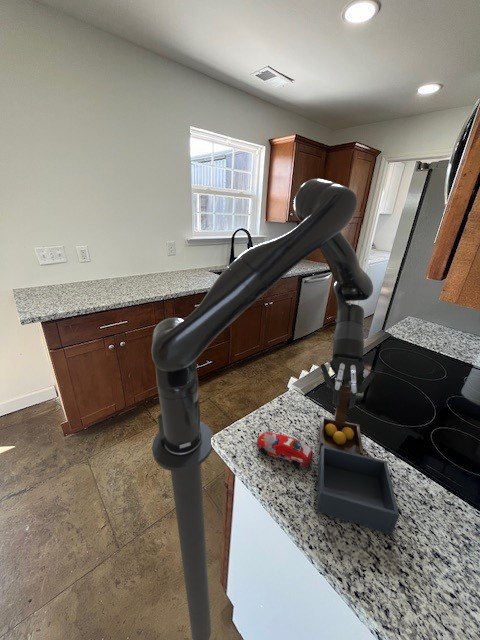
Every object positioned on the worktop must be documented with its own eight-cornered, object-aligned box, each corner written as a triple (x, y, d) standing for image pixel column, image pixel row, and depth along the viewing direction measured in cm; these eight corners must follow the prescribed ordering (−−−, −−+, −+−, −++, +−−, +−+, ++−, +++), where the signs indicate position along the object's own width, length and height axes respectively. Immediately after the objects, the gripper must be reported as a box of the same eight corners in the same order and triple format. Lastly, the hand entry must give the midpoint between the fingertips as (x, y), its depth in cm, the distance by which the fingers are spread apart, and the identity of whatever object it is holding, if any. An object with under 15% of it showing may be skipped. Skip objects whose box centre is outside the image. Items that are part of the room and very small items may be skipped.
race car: (253, 450, 64) (253, 438, 62) (261, 435, 68) (262, 423, 67) (307, 473, 59) (309, 460, 57) (313, 454, 63) (315, 442, 62)
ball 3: (340, 441, 66) (342, 431, 65) (340, 432, 69) (341, 423, 68) (353, 444, 65) (355, 434, 64) (352, 435, 68) (354, 426, 67)
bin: (316, 511, 51) (320, 492, 49) (318, 462, 61) (321, 445, 59) (391, 534, 48) (399, 515, 46) (380, 479, 58) (386, 461, 56)
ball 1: (324, 437, 67) (325, 427, 66) (324, 429, 70) (325, 420, 69) (336, 440, 66) (338, 430, 65) (336, 431, 69) (337, 422, 68)
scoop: (319, 421, 73) (326, 382, 68) (355, 429, 71) (365, 389, 65) (318, 455, 63) (326, 412, 58) (360, 465, 61) (371, 422, 55)
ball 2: (333, 442, 63) (334, 429, 65) (332, 443, 66) (332, 430, 67) (346, 445, 63) (347, 432, 64) (344, 446, 65) (345, 433, 66)
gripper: (322, 333, 70) (315, 400, 64) (380, 341, 66) (378, 412, 60) (320, 342, 77) (313, 403, 71) (372, 349, 73) (370, 415, 67)
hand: (343, 407), depth 65 cm, fingers closed on scoop, 2 cm apart
